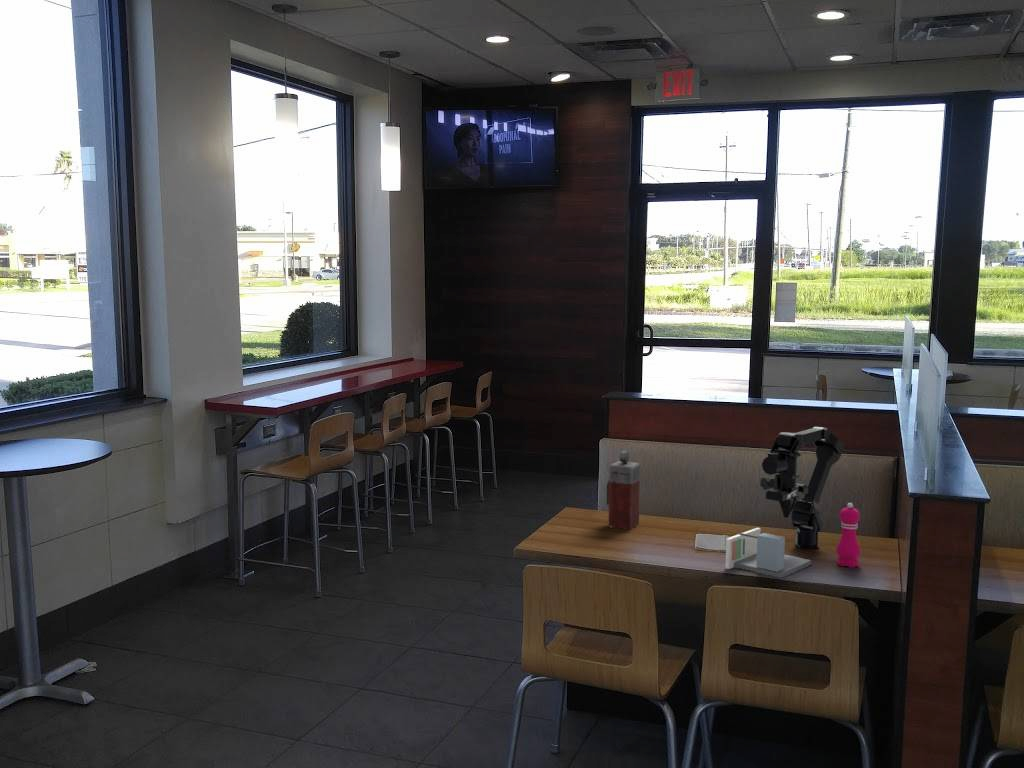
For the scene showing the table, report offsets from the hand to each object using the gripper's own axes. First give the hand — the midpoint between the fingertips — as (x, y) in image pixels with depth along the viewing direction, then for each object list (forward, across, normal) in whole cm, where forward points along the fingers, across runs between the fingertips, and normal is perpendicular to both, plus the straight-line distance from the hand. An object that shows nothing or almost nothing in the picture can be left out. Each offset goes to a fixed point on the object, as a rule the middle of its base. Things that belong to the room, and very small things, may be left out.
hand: (786, 517), depth 297 cm
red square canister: (+12, +10, -61) cm, 63 cm away
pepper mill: (+12, -2, +20) cm, 24 cm away
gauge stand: (+12, +18, +4) cm, 22 cm away
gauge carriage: (+10, +24, +4) cm, 26 cm away
